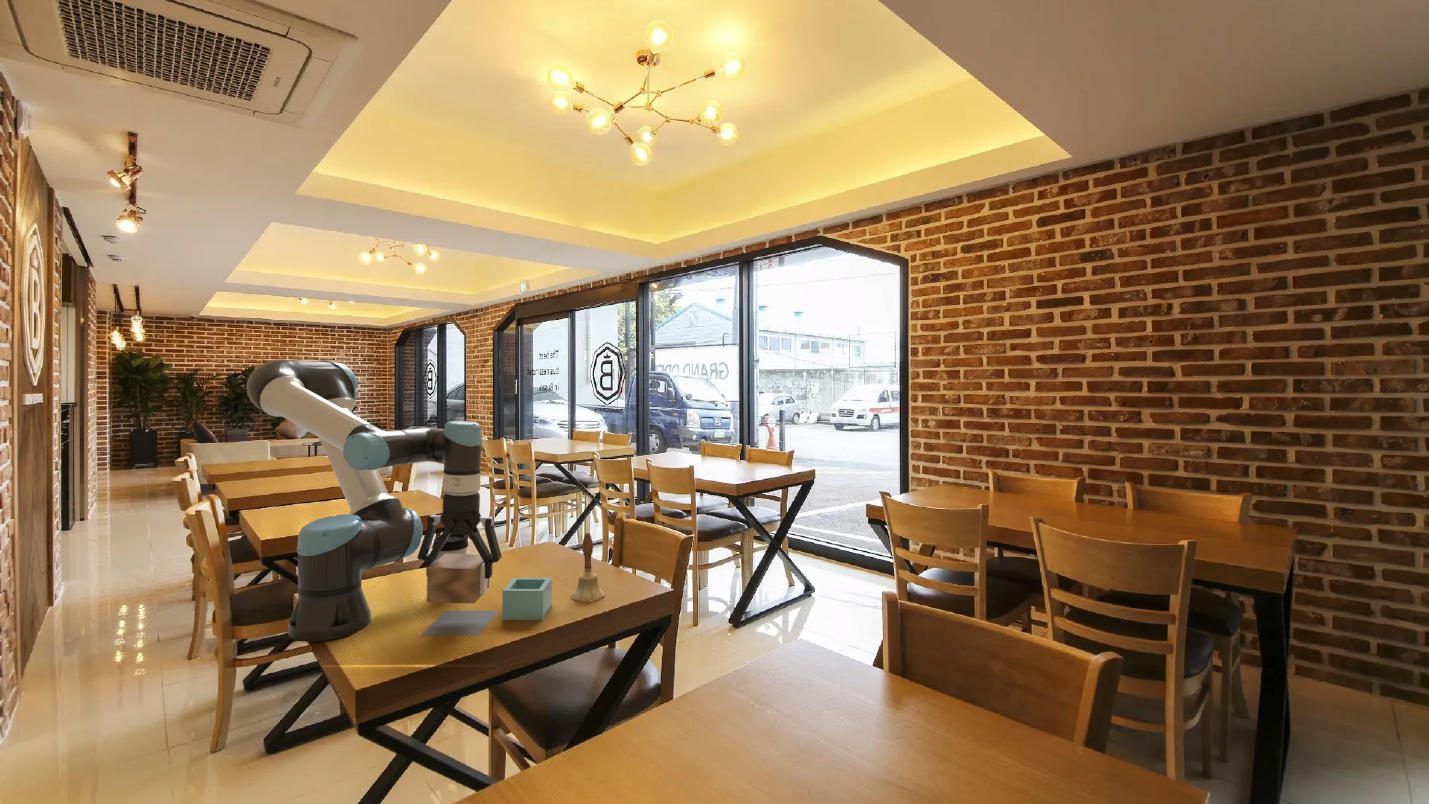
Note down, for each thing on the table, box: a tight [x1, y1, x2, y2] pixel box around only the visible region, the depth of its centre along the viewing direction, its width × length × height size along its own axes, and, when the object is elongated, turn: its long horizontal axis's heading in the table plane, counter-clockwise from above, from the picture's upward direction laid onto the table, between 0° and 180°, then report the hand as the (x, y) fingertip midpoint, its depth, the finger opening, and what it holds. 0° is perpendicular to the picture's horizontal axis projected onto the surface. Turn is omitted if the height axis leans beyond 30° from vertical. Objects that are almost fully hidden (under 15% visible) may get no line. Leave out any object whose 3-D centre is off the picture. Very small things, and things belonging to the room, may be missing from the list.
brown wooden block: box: [426, 553, 490, 604], centre depth 138 cm, size 10×10×8 cm
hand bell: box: [570, 532, 605, 602], centre depth 157 cm, size 8×8×16 cm
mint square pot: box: [501, 577, 553, 621], centre depth 145 cm, size 9×9×7 cm
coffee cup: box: [431, 534, 470, 560], centre depth 156 cm, size 8×8×15 cm
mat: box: [419, 610, 499, 637], centre depth 138 cm, size 12×14×1 cm
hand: (459, 591), depth 138 cm, fingers closed on brown wooden block, 10 cm apart
